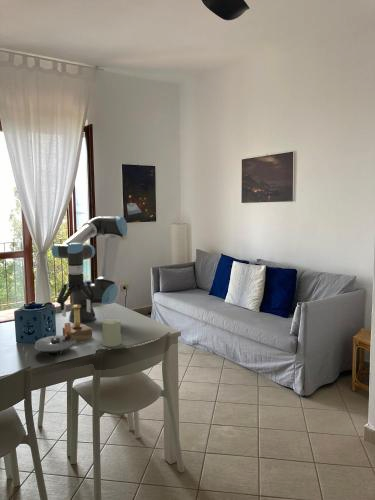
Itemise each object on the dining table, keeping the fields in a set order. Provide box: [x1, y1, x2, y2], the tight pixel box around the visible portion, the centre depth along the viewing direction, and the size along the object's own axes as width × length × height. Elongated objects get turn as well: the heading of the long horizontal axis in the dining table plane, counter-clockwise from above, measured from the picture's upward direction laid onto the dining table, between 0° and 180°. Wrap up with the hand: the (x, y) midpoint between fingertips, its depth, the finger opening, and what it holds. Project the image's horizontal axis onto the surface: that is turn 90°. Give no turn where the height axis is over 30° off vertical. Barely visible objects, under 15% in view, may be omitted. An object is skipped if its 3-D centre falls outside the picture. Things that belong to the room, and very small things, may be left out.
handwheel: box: [34, 322, 76, 353], centre depth 190 cm, size 18×18×8 cm
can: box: [101, 318, 122, 348], centre depth 202 cm, size 9×9×12 cm
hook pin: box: [71, 304, 81, 330], centre depth 210 cm, size 4×4×17 cm
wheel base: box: [48, 351, 63, 355], centre depth 191 cm, size 6×6×3 cm
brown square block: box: [62, 323, 93, 343], centre depth 211 cm, size 11×11×5 cm
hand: (76, 314), depth 209 cm, fingers open, 13 cm apart
